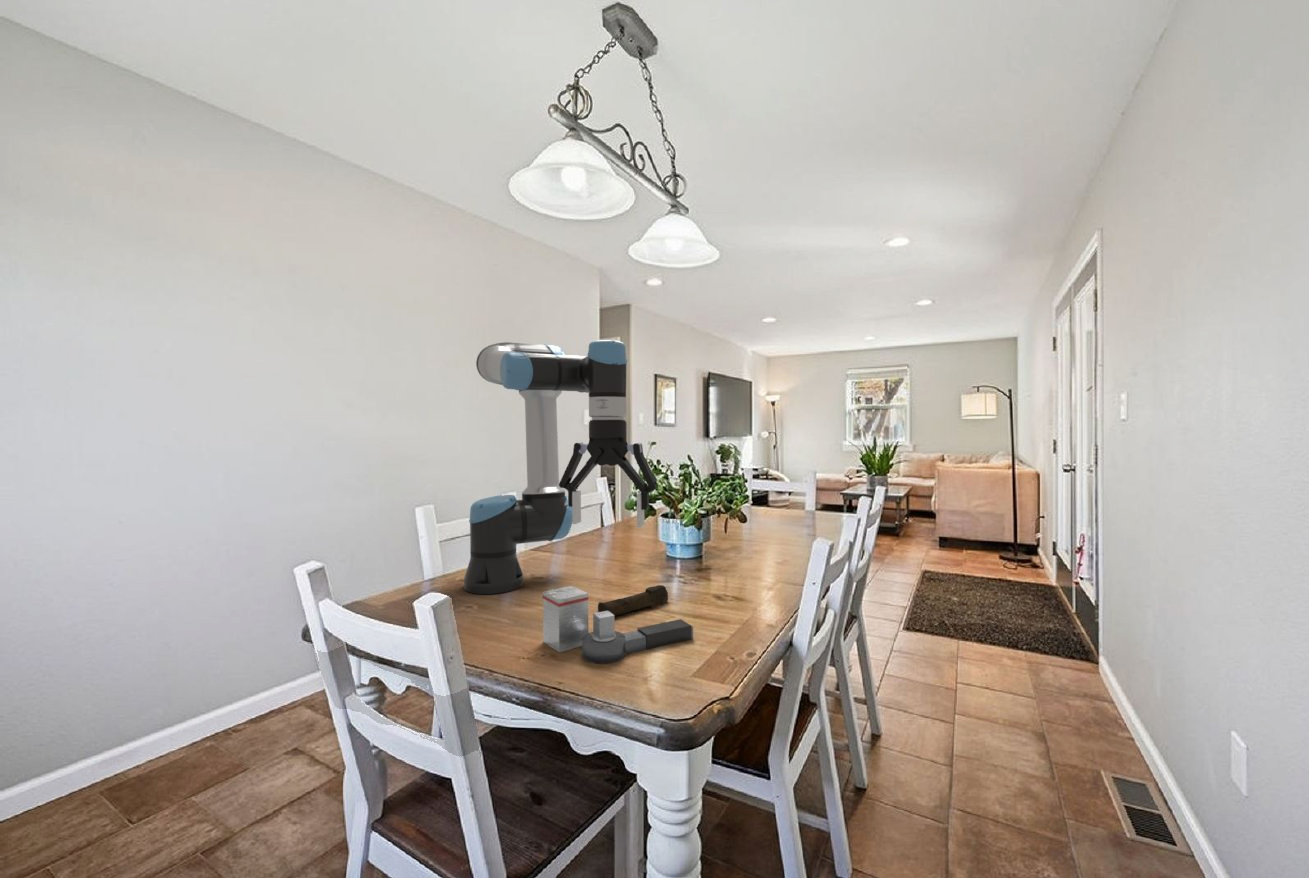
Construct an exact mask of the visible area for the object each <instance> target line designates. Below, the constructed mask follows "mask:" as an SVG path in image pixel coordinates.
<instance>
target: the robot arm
mask: <svg viewBox="0 0 1309 878" xmlns="http://www.w3.org/2000/svg"><path fill="white" fill-rule="evenodd" d="M626 347H627V346H626V345H625V343H624V342H623V341H619V340H614V339H598V340H593V341H591V342H590V343H589V345H588V351H587V355H568V354H565V352H564V351H563V349H562V348H560V347H559V346H557V345H550V344H545V343H542V344H541V343H524V342H523V343H522V342H521V343H520V342H509V341H508V342H507V341H506V342H505V341H504V342H499V343H498V342H497V343H493V344H489V345H487V346H486V347H484V348H483V349H482V350H480V352H479V353H478V355H477V357H476V361H475V364H476V365H475V366H476V370H477V372H478V374H479V375H480V377H481V378H482V379H484V380H485V381H487V382H489V383H492V384H497V385H499V386H500V385H501V386H503V388H504V389H507V390H514V391H518V394H519V395H520V396H521V397H522V398H523V399H524V408H525V409H524V413H525V414H524V415H525V416H524V418H525V442H526V443H525V446H526V449H525V451H526V453H525V454H526V479H527V480H526V481H527V486H526V488H525V489H523V491H522V492H521V499H517V497H516V496H515V495H512V494H504V495H501V494H500V495H494V496H489V497H486V498H485V497H484V498H480V499H479V500H477V501H475V502H473V503H472V504H471V506H470V508H469V510H470V511H469V519H468V520H469V521H468V522H469V536H470V537H469V538H470V539H469V540H470V547H469V548H470V551H469V552H470V557H469V558H470V559H469V562H468V565H467V569H466V572H465V574H464V578H463V590H464V591H466V592H468V593H470V594H478V595H494V594H502V593H503V594H504V593H508V592H511V591H514V590H517V589H520V588H521V587H523V585H524V573H523V570H522V567H521V564H520V561H519V559H518V556H517V545H519V544H529V543H537V542H539V543H540V542H553V541H555V540H561V539H565V538H566V537H567V536H568V535H569V533H570V531H571V529H572V526H573V525H578V524H580V523H581V522H582V490H580V489H578V488H579V487H580V486H581V484H582V483H583V482H584V481H585V479H587V477H588V475H590V473H591V471H593V470H594V469H595V467H597V465H598V466H605V465H606V466H611V467H612V466H613V467H614V466H617V465H618V467H619V468H621V469H622V471H623V472H624V473H625V474H626V476H627V477H628V478H629V479H630V481H631V482H632V483H633V484H634V486H635V487H636V488H637V490H638V491H639V492H638V493H636V527H637V528H641V527H643V526H644V525H645V511H647V510H648V509H649V508H650V492H653V491H655V490H658V488H659V483H658V482H657V480H656V478H655V476H654V473H653V472H652V469H651V467H650V464H649V463H648V461H647V459H646V457H645V455H644V451H643V450H644V448H643V444H642V442H637V443H633V444H628V442H627V436H628V435H627V421H626V420H625V419H624V418H626V417H627V416H628V415H627V363H628V359H627V349H626ZM563 392H578V393H587V394H588V417H589V418H591V420H590V419H589V421H588V439H589V440H588V443H584V442H575V443H574V444H573V449H572V450H573V451H572V455H571V457H570V459H569V461H568V464H567V466H566V468H565V470H564V472H563V475H562V477H561V479H560V472H559V471H560V470H559V467H560V466H559V441H558V439H559V438H558V437H559V436H558V410H557V407H558V406H557V399H558V397H559V396H560V395H561V394H562V393H563ZM586 451H587V452H588V454H589V455H590V457H589V458H588V460H586V462H585V464H584V465H583V466H582V468H581V469H580V471H579V472H578V473H577V474H576V475H575V472H576V470H577V469H578V467H579V465H580V462H581V460H582V458H583V455H584V454H585V453H586ZM628 452H630V453H631V455H633V456H634V459H635V461H636V464H637V466H638V468H639V470H640V472H641V474H642V476H643V478H644V480H643V478H642V476H640V474H639V473H638V472H637V470H636V469H635V468H634V467H633V466H632V464H631V462H630V461H629V459H628V458H627V457H626V455H627V453H628ZM574 475H575V477H574ZM573 477H574V478H573ZM566 491H567V493H568V494H567V495H568V496H567V495H566Z"/></svg>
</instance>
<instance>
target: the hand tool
mask: <svg viewBox="0 0 1309 878" xmlns="http://www.w3.org/2000/svg"><path fill="white" fill-rule="evenodd" d="M668 601H669V592H668V590H667V587H666V586H664V585H663V584H661V585H660V584H658V585H655V586H648V587H647V588H645V591H643V592H641V593H638V594H633V595H629V596H625V597H621V598H617V599H612V600H609V601H604V602H601V601H600V602H598V604H597V612H603V611H609V612H611V613H612V614H613V615H615V617H616V616H620V615H623V614H626V613H627V614H628V613H631V612H634V611H637V610H641V609H644V608H651V609H654V608H656V607H659V606H662V605H664V604H666V603H668Z"/></svg>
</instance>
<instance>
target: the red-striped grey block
mask: <svg viewBox="0 0 1309 878" xmlns="http://www.w3.org/2000/svg"><path fill="white" fill-rule="evenodd" d="M542 619H543V620H542V627H543V631H542V633H543V635H542V637H543V638H542V639H543V643H544V644H546V645H547V646H548V647H550V648H551V649H553V650H555V651H557V652H558V653H559V654H560V653H562V652H566V651H569V650H573V649H576V648H580V647H582V638H583V637H584V636H585V635H586V634H588V633H589V593H588V592H586V591H584V590H582V589H579V588H577V587H576V586H573V585H568V586H564V587H559V588H555V589H549V590H545V591H542Z"/></svg>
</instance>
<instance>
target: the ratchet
mask: <svg viewBox="0 0 1309 878" xmlns="http://www.w3.org/2000/svg"><path fill="white" fill-rule="evenodd" d="M592 616H593V619H592V620H593V625H592V626H593V629H592V630H593V631H591V632H590V631H589V632H588V634H586V635H585V636H584V637H583V638H582V646H581V648H582V649H581V650H582V651H581V652H582V656H581V657H582V658H583V659H584V660H585V661H587V662H590V663H593V664H611V663H614V662H618V661H620V660H623V659H624V658H625V656H626V654H630V653H635V652H639V651H645V650H650V649H654V648H659V647H664V646H668V645H672V644H677V643H681V642H686V641H690V640H693V639H694V626H692V624H689V622H686V621H684V619H681V618H679V619H675V620H674V619H673V620H670V621H665V622H660V623H656V624H650V625H646V626H640V627H637V629H636V630H633V631H627V632H624V633H622V632H620V631H617V630H615V627H616V624H615V617H616V616H615V615H613V614H612V613H611V612H609V611H603V612H598V611H597V612H593V614H592Z"/></svg>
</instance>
